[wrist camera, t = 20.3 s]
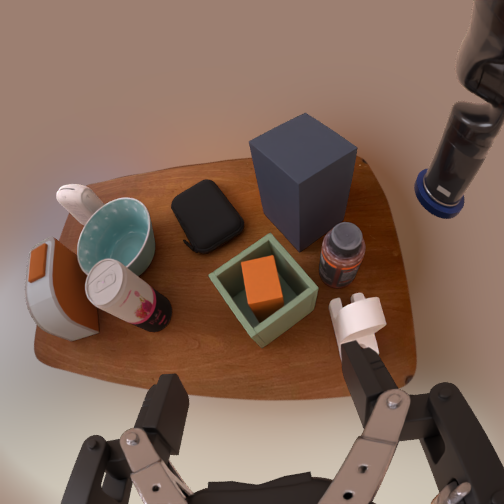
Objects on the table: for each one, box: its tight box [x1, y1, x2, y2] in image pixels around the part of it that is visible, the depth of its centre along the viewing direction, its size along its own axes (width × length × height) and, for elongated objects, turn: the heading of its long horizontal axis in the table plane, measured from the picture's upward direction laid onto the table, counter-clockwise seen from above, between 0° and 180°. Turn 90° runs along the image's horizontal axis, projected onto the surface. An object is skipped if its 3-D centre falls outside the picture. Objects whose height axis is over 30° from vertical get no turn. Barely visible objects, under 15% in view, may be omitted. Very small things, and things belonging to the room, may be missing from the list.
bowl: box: [77, 198, 155, 276], centre depth 46 cm, size 16×16×8 cm
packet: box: [241, 255, 284, 323], centre depth 37 cm, size 4×5×10 cm
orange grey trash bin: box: [25, 237, 99, 341], centre depth 41 cm, size 15×8×14 cm, turn 18°
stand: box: [249, 113, 357, 252], centre depth 40 cm, size 10×10×17 cm
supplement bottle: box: [319, 222, 365, 288], centre depth 37 cm, size 6×6×11 cm
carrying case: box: [171, 180, 244, 254], centre depth 49 cm, size 11×3×15 cm
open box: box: [208, 233, 319, 348], centre depth 37 cm, size 10×10×10 cm
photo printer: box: [56, 184, 105, 225], centre depth 50 cm, size 10×4×12 cm, turn 75°
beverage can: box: [85, 259, 172, 332], centre depth 37 cm, size 6×6×15 cm
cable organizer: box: [329, 293, 386, 362], centre depth 34 cm, size 5×10×10 cm, turn 9°
